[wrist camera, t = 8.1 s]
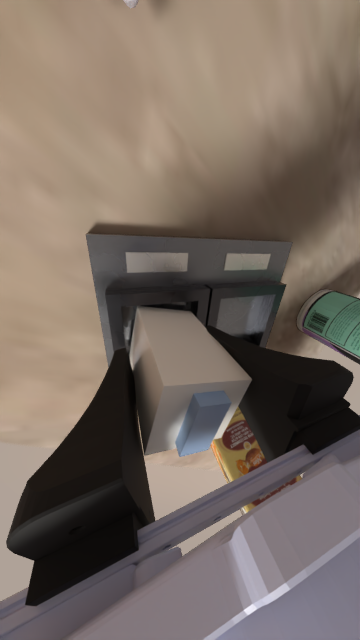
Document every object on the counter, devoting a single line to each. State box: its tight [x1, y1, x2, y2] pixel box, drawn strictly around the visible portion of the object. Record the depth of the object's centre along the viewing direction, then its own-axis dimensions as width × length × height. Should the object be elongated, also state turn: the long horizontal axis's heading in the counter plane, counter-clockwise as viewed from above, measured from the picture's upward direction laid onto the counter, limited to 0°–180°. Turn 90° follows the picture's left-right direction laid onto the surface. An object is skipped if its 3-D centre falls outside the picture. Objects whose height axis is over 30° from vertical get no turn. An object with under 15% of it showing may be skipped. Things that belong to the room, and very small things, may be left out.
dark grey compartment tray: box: [86, 233, 293, 367], centre depth 15 cm, size 15×12×2 cm
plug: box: [129, 306, 252, 457], centre depth 10 cm, size 4×4×8 cm
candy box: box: [210, 407, 302, 515], centre depth 15 cm, size 9×4×15 cm, turn 15°
